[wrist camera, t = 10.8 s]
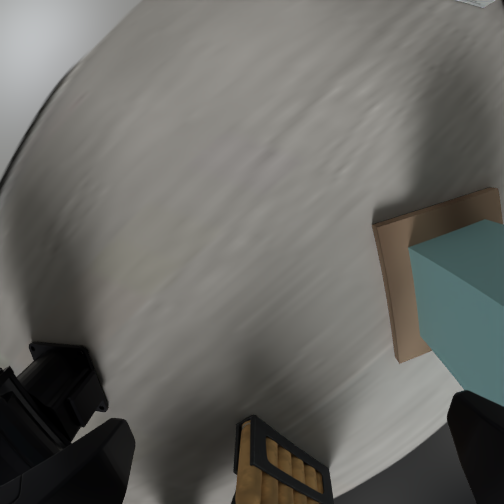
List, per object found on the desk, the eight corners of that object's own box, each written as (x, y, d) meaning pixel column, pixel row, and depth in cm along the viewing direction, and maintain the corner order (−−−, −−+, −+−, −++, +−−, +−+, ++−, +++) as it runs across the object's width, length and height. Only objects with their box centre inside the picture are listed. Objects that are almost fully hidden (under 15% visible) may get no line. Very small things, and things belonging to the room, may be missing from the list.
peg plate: (394, 356, 21) (420, 397, 16) (371, 224, 19) (404, 242, 14) (498, 310, 20) (534, 336, 15) (489, 187, 18) (535, 194, 13)
